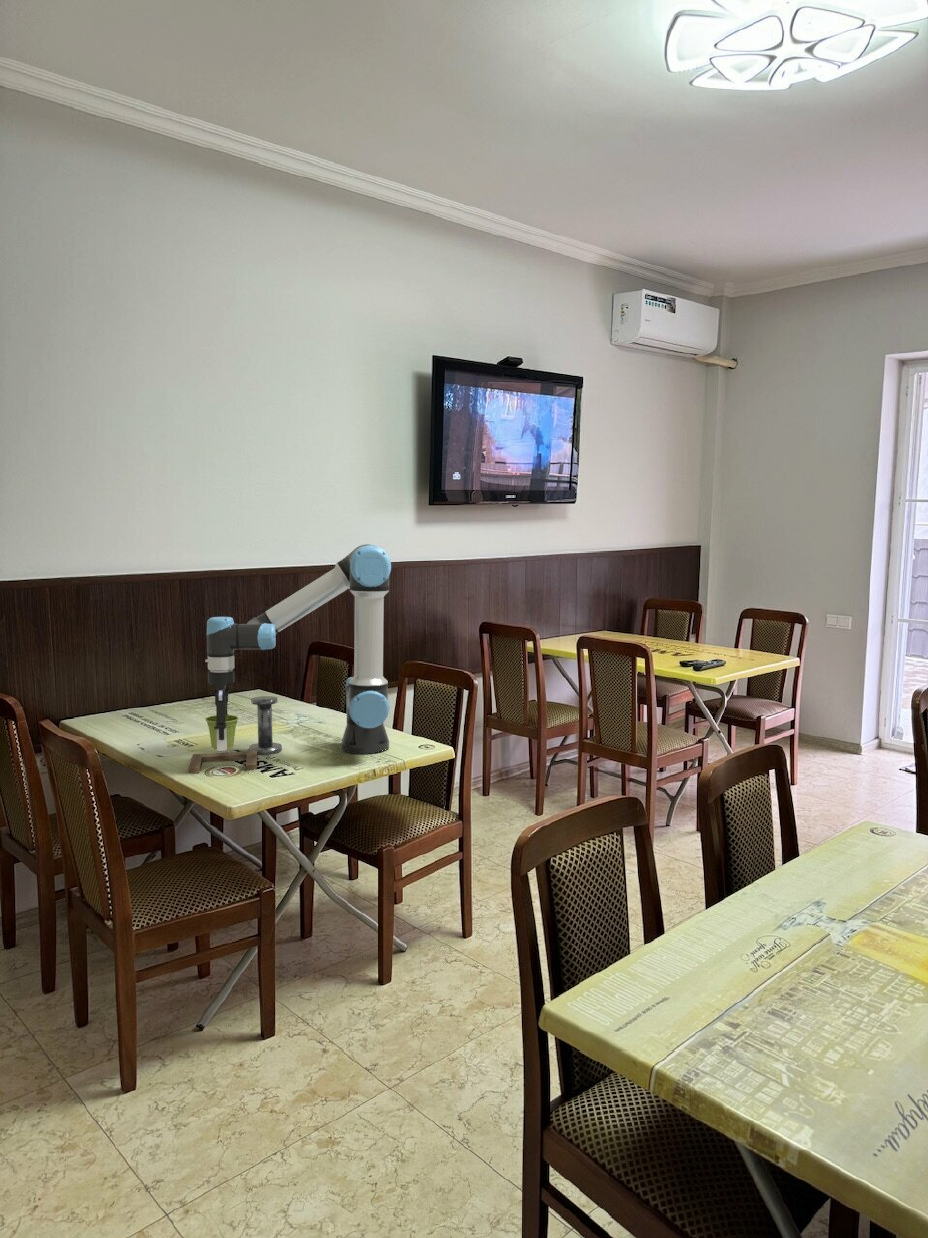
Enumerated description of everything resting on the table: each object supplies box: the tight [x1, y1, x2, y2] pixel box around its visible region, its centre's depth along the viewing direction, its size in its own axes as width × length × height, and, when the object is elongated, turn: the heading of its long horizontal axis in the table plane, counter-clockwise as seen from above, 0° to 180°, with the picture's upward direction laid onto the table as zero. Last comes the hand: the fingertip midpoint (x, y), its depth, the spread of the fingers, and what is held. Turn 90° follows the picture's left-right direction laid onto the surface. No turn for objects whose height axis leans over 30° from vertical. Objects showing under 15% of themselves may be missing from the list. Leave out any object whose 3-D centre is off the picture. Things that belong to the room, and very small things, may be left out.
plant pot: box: [205, 714, 239, 750], centre depth 260 cm, size 9×9×9 cm
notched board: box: [187, 750, 258, 774], centre depth 263 cm, size 19×16×2 cm
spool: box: [248, 695, 283, 756], centre depth 278 cm, size 10×10×17 cm
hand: (222, 746), depth 261 cm, fingers closed on plant pot, 8 cm apart
